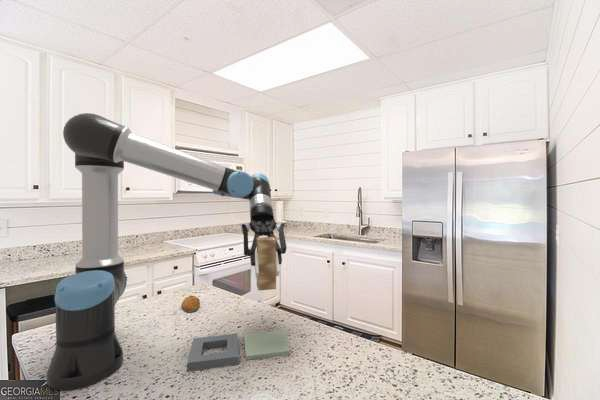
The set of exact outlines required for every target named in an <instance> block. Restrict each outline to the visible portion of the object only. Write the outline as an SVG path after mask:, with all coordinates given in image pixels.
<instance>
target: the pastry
mask: <svg viewBox="0 0 600 400" xmlns="http://www.w3.org/2000/svg"><path fill="white" fill-rule="evenodd" d="M200 301H201V300H200V298H199V297H197V296H196V295H189V296H186V297H185V298H183V301H182V302H181V305H180V307H181V308H182V310H183V312H185V313H190V312H196V311H197V310H198V309H199V308H200V306H201V302H200Z"/></svg>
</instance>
